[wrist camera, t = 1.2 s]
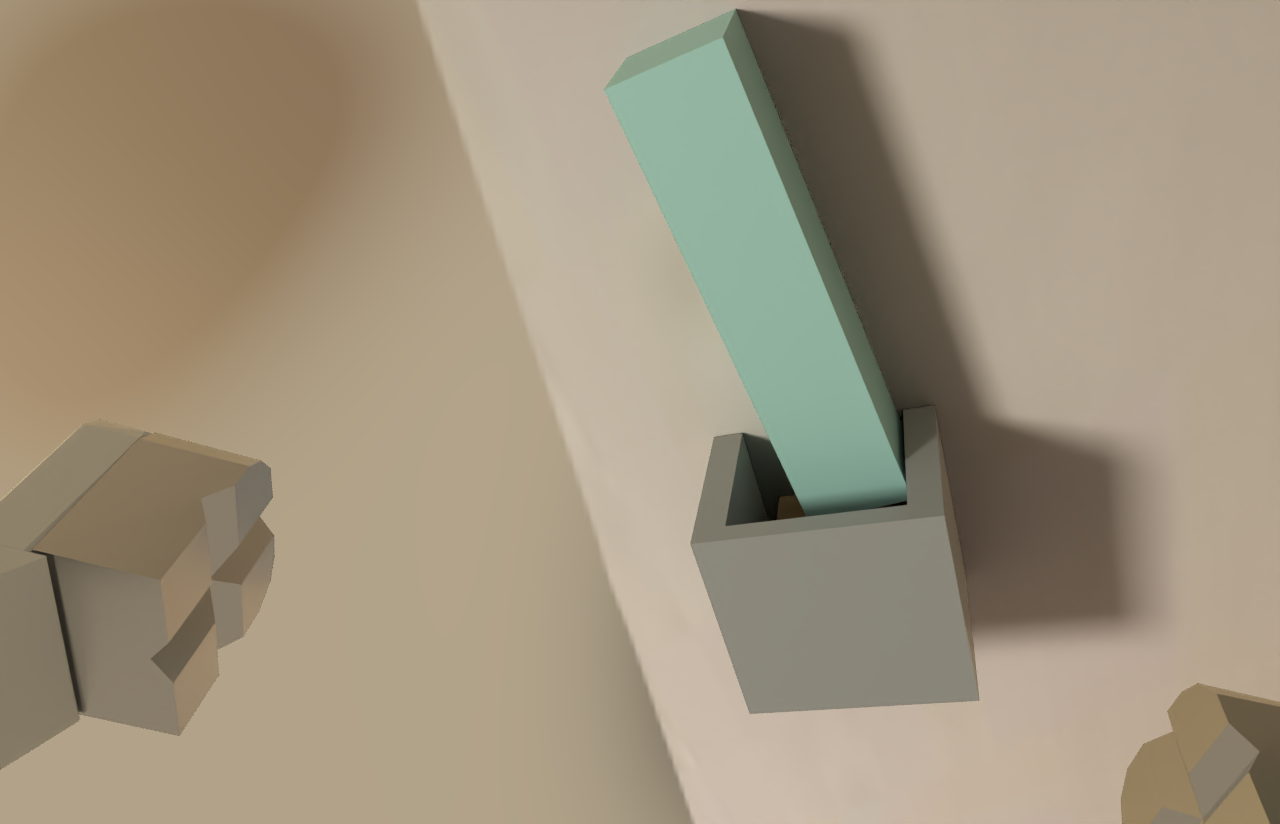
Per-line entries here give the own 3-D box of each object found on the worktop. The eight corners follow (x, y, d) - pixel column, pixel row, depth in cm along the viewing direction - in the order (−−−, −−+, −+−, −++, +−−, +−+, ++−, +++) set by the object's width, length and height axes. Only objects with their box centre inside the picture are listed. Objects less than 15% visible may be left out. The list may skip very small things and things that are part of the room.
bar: (628, 55, 35) (604, 89, 32) (736, 6, 34) (722, 36, 30) (814, 463, 43) (809, 523, 40) (908, 438, 42) (912, 499, 38)
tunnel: (714, 437, 43) (690, 544, 37) (934, 405, 40) (944, 515, 35) (764, 596, 47) (750, 713, 42) (966, 578, 45) (979, 700, 39)
